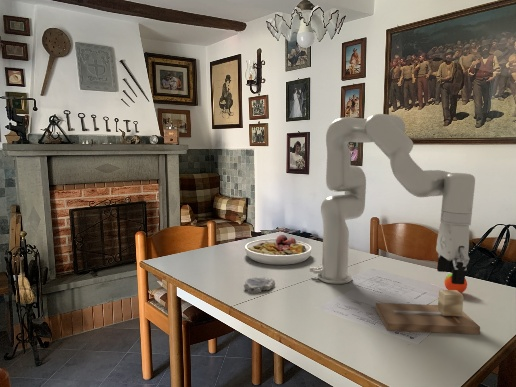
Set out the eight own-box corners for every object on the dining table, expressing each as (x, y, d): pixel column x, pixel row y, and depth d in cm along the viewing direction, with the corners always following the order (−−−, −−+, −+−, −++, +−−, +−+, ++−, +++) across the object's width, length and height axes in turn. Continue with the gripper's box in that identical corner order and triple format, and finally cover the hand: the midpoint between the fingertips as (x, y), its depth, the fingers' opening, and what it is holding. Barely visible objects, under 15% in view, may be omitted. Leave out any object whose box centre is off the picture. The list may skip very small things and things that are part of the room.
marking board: (387, 330, 104) (387, 321, 103) (375, 309, 117) (375, 301, 117) (479, 334, 102) (480, 325, 102) (456, 312, 116) (456, 304, 115)
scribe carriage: (443, 315, 107) (444, 294, 106) (437, 309, 111) (439, 289, 110) (464, 316, 107) (465, 295, 106) (457, 310, 111) (459, 290, 110)
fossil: (257, 288, 127) (238, 274, 134) (254, 299, 128) (235, 285, 134) (280, 283, 135) (261, 271, 142) (277, 293, 136) (258, 281, 143)
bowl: (309, 269, 157) (310, 250, 156) (238, 264, 162) (238, 246, 161) (312, 250, 186) (313, 234, 185) (252, 247, 191) (252, 231, 191)
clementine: (451, 298, 127) (453, 277, 126) (436, 290, 133) (437, 270, 133) (471, 295, 129) (472, 275, 128) (455, 288, 136) (457, 269, 135)
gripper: (430, 211, 115) (425, 266, 117) (455, 224, 98) (449, 288, 100) (456, 212, 114) (450, 268, 116) (486, 225, 97) (479, 289, 99)
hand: (449, 277), depth 108 cm, fingers open, 9 cm apart
